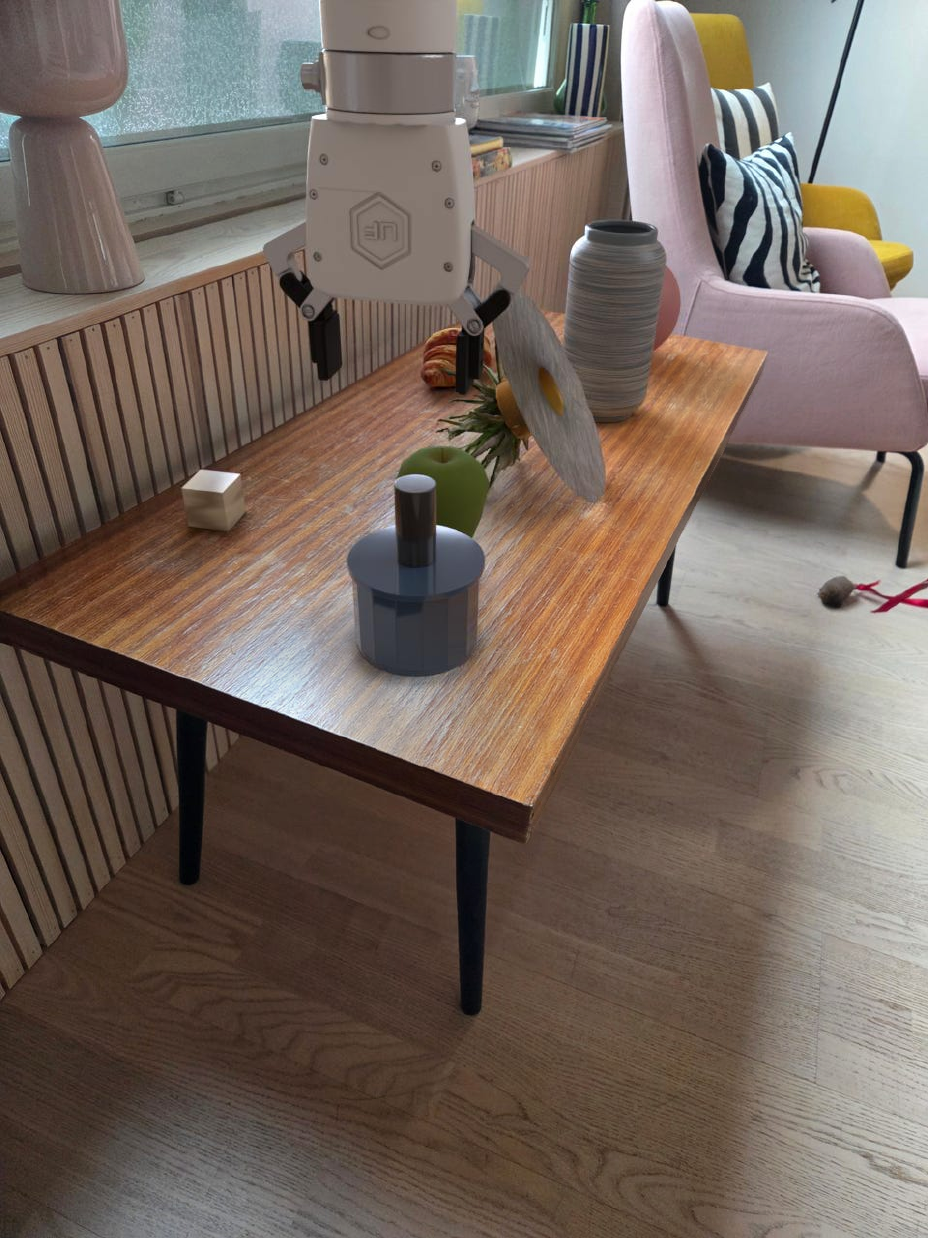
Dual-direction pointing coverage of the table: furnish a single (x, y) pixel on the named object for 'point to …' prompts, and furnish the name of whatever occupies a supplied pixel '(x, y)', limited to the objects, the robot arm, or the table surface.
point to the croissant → (445, 357)
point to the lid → (415, 551)
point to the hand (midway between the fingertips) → (397, 380)
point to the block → (213, 500)
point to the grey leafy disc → (533, 404)
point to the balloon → (667, 309)
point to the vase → (614, 314)
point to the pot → (416, 632)
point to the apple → (452, 485)
